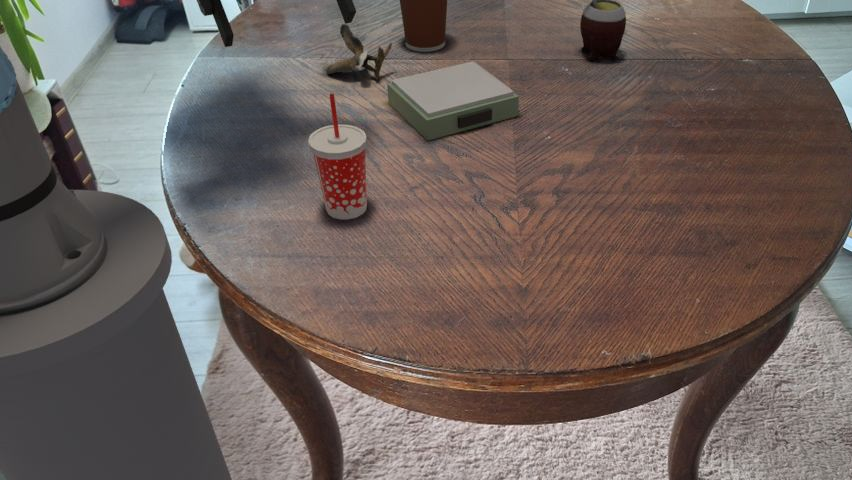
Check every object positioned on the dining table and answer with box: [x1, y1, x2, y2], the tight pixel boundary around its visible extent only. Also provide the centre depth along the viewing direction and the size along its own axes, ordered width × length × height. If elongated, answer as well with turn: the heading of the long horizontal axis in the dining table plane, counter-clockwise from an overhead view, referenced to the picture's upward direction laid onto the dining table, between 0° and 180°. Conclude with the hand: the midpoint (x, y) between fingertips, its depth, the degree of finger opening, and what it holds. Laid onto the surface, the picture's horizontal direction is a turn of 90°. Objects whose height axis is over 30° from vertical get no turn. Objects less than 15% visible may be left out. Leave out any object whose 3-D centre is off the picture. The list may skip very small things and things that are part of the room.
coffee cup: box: [399, 0, 448, 53], centre depth 116 cm, size 9×9×12 cm
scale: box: [386, 60, 520, 141], centre depth 101 cm, size 14×12×4 cm
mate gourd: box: [579, 0, 627, 63], centre depth 113 cm, size 8×8×15 cm
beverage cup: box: [307, 93, 368, 220], centre depth 80 cm, size 6×6×14 cm
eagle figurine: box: [326, 23, 393, 81], centre depth 109 cm, size 8×7×9 cm
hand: (292, 29), depth 80 cm, fingers open, 13 cm apart
